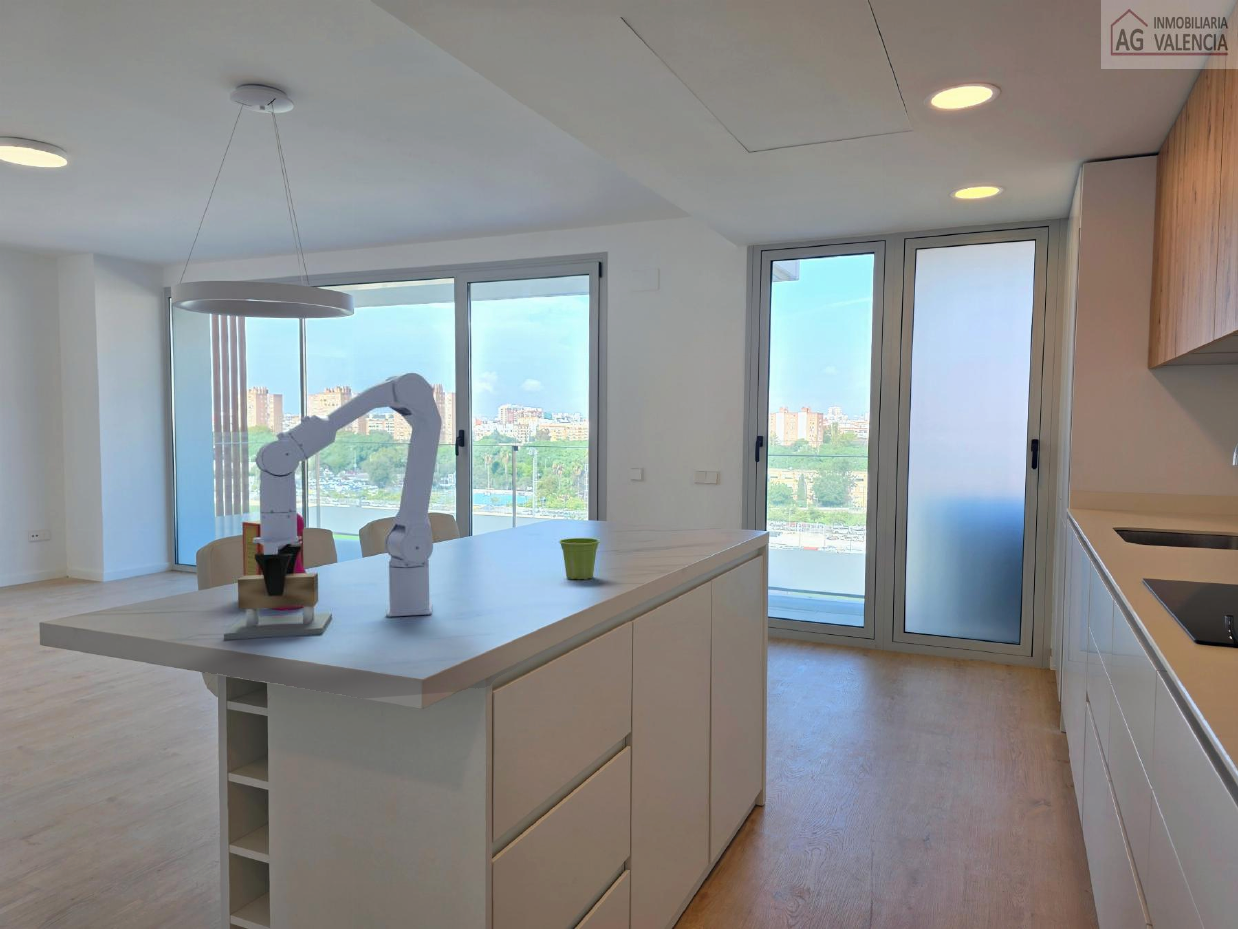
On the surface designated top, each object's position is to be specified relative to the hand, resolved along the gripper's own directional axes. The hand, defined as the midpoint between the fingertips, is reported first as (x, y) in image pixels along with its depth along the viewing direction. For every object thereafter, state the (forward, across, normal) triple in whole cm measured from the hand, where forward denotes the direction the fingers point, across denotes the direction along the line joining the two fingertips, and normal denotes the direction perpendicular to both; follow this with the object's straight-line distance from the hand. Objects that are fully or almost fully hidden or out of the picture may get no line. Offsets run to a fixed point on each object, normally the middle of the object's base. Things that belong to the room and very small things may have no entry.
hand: (280, 591), depth 136 cm
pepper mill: (+7, -19, -2) cm, 20 cm away
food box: (+7, -31, -7) cm, 32 cm away
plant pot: (+7, -36, +58) cm, 69 cm away
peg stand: (+6, 0, 0) cm, 6 cm away
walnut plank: (+2, 0, 0) cm, 2 cm away
